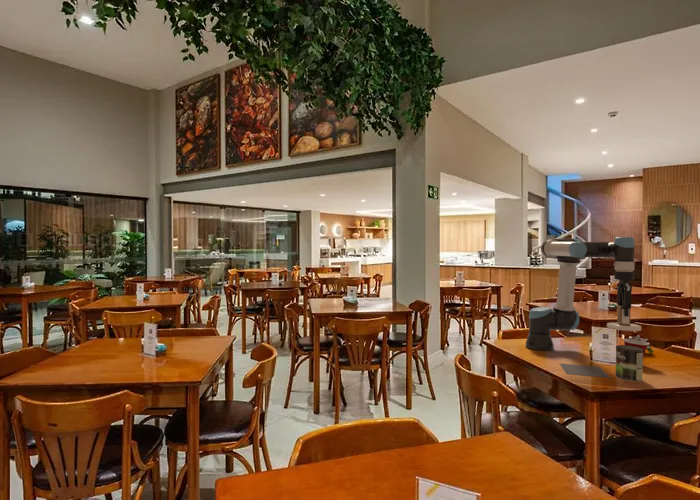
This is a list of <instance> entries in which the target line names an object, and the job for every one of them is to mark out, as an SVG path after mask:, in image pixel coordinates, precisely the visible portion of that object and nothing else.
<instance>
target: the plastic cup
mask: <svg viewBox="0 0 700 500" xmlns="http://www.w3.org/2000/svg"><path fill="white" fill-rule="evenodd" d="M622 341H623V345H628V346H635V347H639V348H642V349H643V360H645V355H646V354H645V353H646V350H647V349H646V348H647V346H648V345H650V344H648V343H649V342H648V343H646V342H647V341H646V342H643V341H638V340H632V339H630V338H629V339H628V338H623V339H622Z"/></svg>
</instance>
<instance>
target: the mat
mask: <svg viewBox="0 0 700 500" xmlns="http://www.w3.org/2000/svg"><path fill="white" fill-rule="evenodd" d="M559 365H560V367H561V368H562V369H563V371H564V373H565V374H566V375H574V376H586V377H595V378H607V379H611V377H610V375H608V373H607V372H605V371H604V369H603V368H602V367H601V366H594V365H584V364H583V365H581V364H572V363H571V364H570V363H559Z"/></svg>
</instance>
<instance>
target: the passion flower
mask: <svg viewBox="0 0 700 500" xmlns="http://www.w3.org/2000/svg"><path fill="white" fill-rule="evenodd" d="M627 339H632V340H638V341H643V342H646V343H648V344H649V345H648V346H647V348H646V350H647V352H648V353H649V354H650V355H653V353H654V350H653V349H652V347H651V345H650V342H647V341H648V339H649V338H641V336H640V335H639V334H637V335H636V336H632V337H631V336H630V337H628V338H627Z"/></svg>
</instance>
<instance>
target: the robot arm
mask: <svg viewBox="0 0 700 500" xmlns="http://www.w3.org/2000/svg"><path fill="white" fill-rule="evenodd" d="M635 246H636V245H635V238H634V237H632V236H616V237H614V241H583V240H581V239H579V238H570V237H569V238H568V237H567V238H549V239H547V240H545V241H543V242H542V244H541V246H540V252H541V253H542V255H543V256H544V257H546V258H548V259H552V260H553V259H555V260H556V261H557V263H558V265H559V269H558V270H559V271H558V284H557V293H556V294H557V295H556V297H557V298H556V304H554V305H553V309H552V308H551V307H547V306H544V307H543V306H542V307H540V306H539V307H533V308H531V309H530V310H529V314H528V336H527V338H526V340H525V347H526V348H527V349H531V350H536V351H548V352H549V351H554V349H555V348H554V347H555V346H554V342H553V338H552V336H551V333H552V332H551V331H574V330H576V328H578V326H579V324H580V314H579V311H577V309H576V307H575V306H574V299H575V288H576V278H577V277H576V276H577V268H578V267H577V266H578V265H579V264H581V260H583V259H584V258H605V259H607V258H608V259H611V258H612V259H613V258H614V259H613V260H614V261H613V262H614V263H613V266H614V270H615V271H614V274H613V275H614V280H617V281H618V283H617V284H616V295H617V296H616V300H617V301H616V305H617V306H623V307H621V309H622V323H623V324H629V309H630V310H631V309H632V291H633V286H632V285H631V284H630V281H634V280H635V272H634V271H635V248H636V247H635Z"/></svg>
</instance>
